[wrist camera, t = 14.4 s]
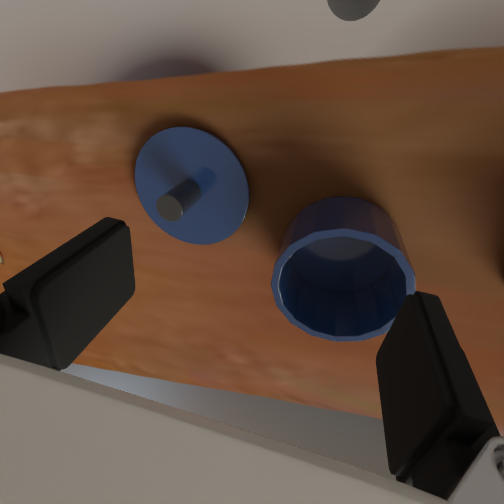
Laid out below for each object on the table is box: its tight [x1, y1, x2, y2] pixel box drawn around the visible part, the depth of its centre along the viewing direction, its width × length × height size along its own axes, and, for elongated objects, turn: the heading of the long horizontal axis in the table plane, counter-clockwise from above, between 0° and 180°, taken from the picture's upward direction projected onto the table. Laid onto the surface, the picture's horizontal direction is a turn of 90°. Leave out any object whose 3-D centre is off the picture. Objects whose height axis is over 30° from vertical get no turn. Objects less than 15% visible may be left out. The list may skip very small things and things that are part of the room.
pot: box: [271, 196, 416, 342], centre depth 34 cm, size 14×14×8 cm
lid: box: [135, 126, 250, 245], centre depth 36 cm, size 15×15×7 cm
